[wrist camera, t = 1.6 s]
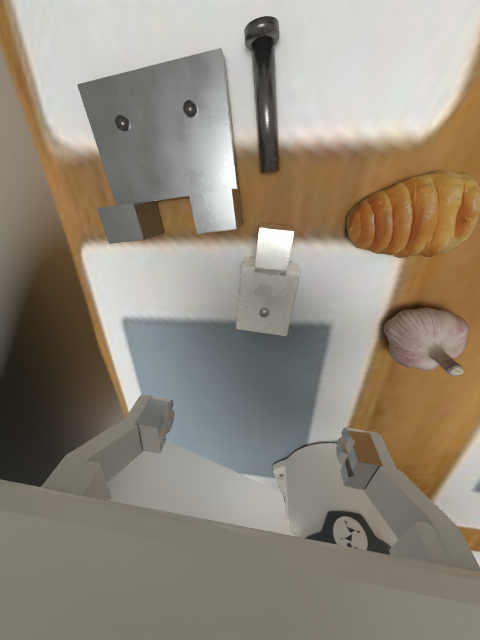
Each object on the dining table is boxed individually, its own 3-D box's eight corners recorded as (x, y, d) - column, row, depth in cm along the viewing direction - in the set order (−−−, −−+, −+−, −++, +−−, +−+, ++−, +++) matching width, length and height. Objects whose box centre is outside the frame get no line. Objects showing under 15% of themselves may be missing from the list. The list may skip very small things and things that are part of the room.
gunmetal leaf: (242, 222, 24) (236, 229, 20) (134, 235, 26) (109, 243, 22) (224, 58, 19) (210, 22, 15) (89, 91, 21) (46, 68, 17)
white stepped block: (285, 320, 29) (287, 337, 25) (240, 314, 29) (235, 330, 26) (304, 227, 24) (309, 233, 20) (249, 221, 24) (244, 226, 21)
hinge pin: (283, 169, 22) (283, 167, 19) (257, 173, 22) (254, 172, 20) (279, 33, 18) (278, 12, 16) (247, 41, 18) (241, 22, 16)
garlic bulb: (367, 319, 27) (398, 363, 20) (438, 282, 24) (502, 319, 17) (395, 364, 30) (432, 417, 23) (463, 335, 27) (529, 387, 20)
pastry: (342, 259, 25) (352, 270, 21) (345, 185, 22) (358, 184, 18) (446, 248, 23) (475, 258, 20) (465, 166, 20) (503, 160, 17)
